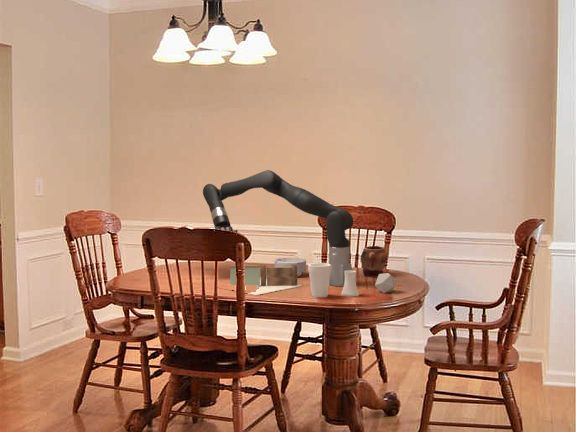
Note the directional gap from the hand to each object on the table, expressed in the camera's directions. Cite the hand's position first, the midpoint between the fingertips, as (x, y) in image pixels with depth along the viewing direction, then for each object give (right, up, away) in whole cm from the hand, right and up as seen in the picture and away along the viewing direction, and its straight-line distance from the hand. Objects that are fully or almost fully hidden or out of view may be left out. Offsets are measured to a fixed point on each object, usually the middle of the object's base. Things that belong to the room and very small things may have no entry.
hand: (229, 247), depth 321 cm
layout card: (+15, -17, -15) cm, 27 cm away
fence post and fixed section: (+23, -16, -14) cm, 31 cm away
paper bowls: (+28, -14, +12) cm, 34 cm away
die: (+69, -18, -28) cm, 76 cm away
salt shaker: (+53, -18, -33) cm, 65 cm away
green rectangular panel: (+8, -16, -14) cm, 23 cm away
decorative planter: (+68, -14, +9) cm, 70 cm away
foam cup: (+40, -19, -35) cm, 56 cm away
